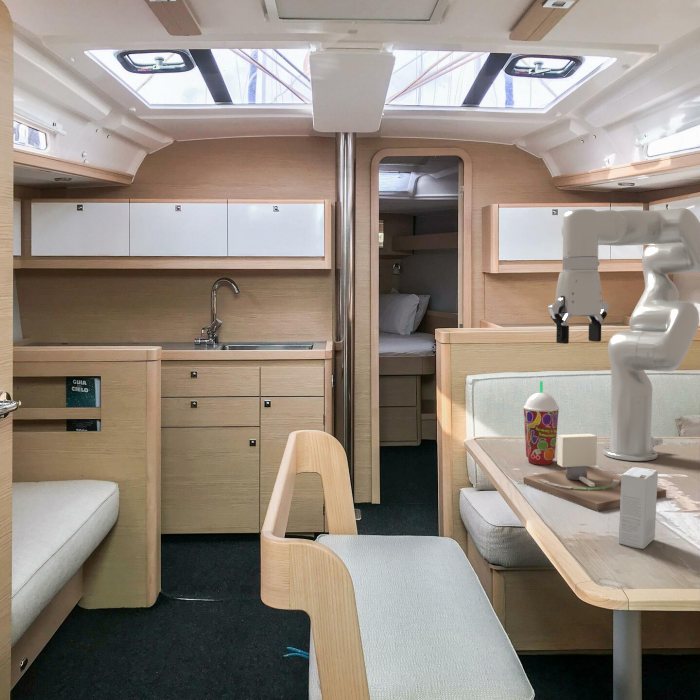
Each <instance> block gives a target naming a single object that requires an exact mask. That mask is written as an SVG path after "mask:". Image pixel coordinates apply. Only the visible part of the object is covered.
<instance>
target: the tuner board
mask: <svg viewBox="0 0 700 700" xmlns="http://www.w3.org/2000/svg"><path fill="white" fill-rule="evenodd" d="M587 479H588V480H590V481H591V482H593V483H595V486H592V487H590V486H589V485H587V484H585V483H584V482H582V481H581V480H571V479H568V478H566V469H564V470H559V471H558V470H557V471H552V472H546V473H540V474H534V475H528V476H523V480H522V481H523V482H522V483H524V484H523V485H525V484H526V485H525V486H528V485H529V487H530V486H531V488H533V487H534V488H533V489H536V490H538V489H539V491H541V490H542V492H543V493H546V492H547V494H549V495H553V496H555V497H558V498H560V499H562V500H565V501H568V502H570V503H573V504H575V505H578V506H582V507H584V508H586V507H587V508H586V509H589V510H592V511H594V510H595V512H597V511H598V512H602V511H606V510H611V509H616V508H620V499H621V481H622V475H618V474H616V473H612V472H608V471H605V470H604V469H603V470H602V469H598V468H595V467H593V466H587ZM662 498H667V489H665V488H661V487H658V486H657V499H662Z"/></svg>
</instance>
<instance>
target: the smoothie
mask: <svg viewBox="0 0 700 700" xmlns="http://www.w3.org/2000/svg"><path fill="white" fill-rule="evenodd" d="M543 385H544V382H543V380H540V381H539V392H535V393H533V394H531V395H530V396H528V398H527V399H526V402H525V403H524V405H523V421H524V422H523V423H524V425H523V426H524V437H525V438H524V439H525V441H524V443H525V456H526V458H527V460H528V462H529V463H531V464H533V465H538V466H539V465H540V466H544V465H545V466H546V465H551V464H552V463H553V461H554V459H555V458H556V449H557V448H556V447H557V446H556V445H557V438H558V425H559V423H558V422H559V409H560V407H559V406H558V403H557V402H556V400H555V398H554V397H553V396H552V395H551V394H548V393H546V392H544V391H543V389H544V388H543V387H544V386H543Z"/></svg>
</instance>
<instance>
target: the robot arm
mask: <svg viewBox="0 0 700 700" xmlns="http://www.w3.org/2000/svg"><path fill="white" fill-rule="evenodd" d="M562 218H563V219H562V220H563V221H562V225H561V236H562V271H560V272H559V275H558V279H557V284H556V288H555V289H556V291H555V300H554V301H553V302H552V303H551V304H549V305H548V306H547V308H548V309H547V310H548V312H549V314H550V318H551V319H552V321H553V324H554V325H555V326H556V335H555V337H556V343H557V344H564V345H565V344H566V345H567V344H569V342H570V326H569V325H568V323H569V321H570V319H572V318H573V317H574V318H575V317H578V318H579V317H587V318H588V320H589V321H590V323H588V341H589V342H598V343H599V342H601V341H602V325H603V324H604V323H605V321H604V320H605V318H607V315H608V311H609V309H610V303H608V302H606V301H605V300H603V298H602V297H603V296H602V295H603V293H602V283H601V276H600V271H599V270H598V269H599V266H600V262H599V246H616V247H617V246H618V247H622V246H647V247H645V249H643V252H642V255H641V267H642V273H643V279H644V290H643V293H642V295H641V296H640V299H639V300H638V302H637V303H636V305H635V308H634V310H633V311H632V313H631V316H630V317H629V322H628V323H629V329H630V330H622V331H621V330H620V331H618V332H616V333H614V334H613V335H612V336H611V337H610V338H609V340H608V344H607V353H608V354H607V355H608V360H609V365H610V372H611V373H610V375H611V377H610V379H611V385H610V387H611V388H610V389H611V393H610V395H611V397H610V432H609V433H610V438H609V439H610V441H609V443H610V444H609V445H608V446H606V447H603V454H604V455H605V456H607V457H609V458H612V459H616V460H621V461H622V460H623V461H628V462H629V461H633V462H644V461H645V462H646V461H652V460H655V459H657V458H658V452H657V451H656V450H654V447H655V446H656V447H657V446H661V445H663V444H664V441H663V438H662V437H660V436H659V437H653V436H652V417H653V415H652V413H653V386H652V385H653V384H652V382H651V381H650V377H649V376H648V375H647V373H646V371H656V372H674V371H676V370H677V369H678V368H679V367H680V366H681V365H682V363H683V362H684V360H685V358H686V355H687V353H688V351H689V350H690V347H691V346H692V343H693V340H695V339H694V338H695V337H696V335H697V331H698V330H699V323H700V314H699V311H698V309H697V307H696V306H695V305H694V304H693V303H692V302H689V301H685V300H679V298H680V292H679V289H678V288H677V286H676V284H675V283H674V282H673V281H672V280H671V279H670V278H669V276H668V275H673V274H674V275H676V274H677V275H678V274H679V275H681V274H683V275H684V274H700V221H699V219H698V217H697V216H696V215H695V214H694V212H693V211H691V210H690V209H688V208H684V207H682V208H680V207H679V208H671V209H670V208H669V209H660V210H658V209H657V210H640V209H627V210H615V209H608V210H605V209H604V210H595V209H591V208H582V209H581V208H580V209H572V210H568V211H566V212H565V213H564V215H563V217H562Z"/></svg>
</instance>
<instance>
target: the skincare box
mask: <svg viewBox="0 0 700 700" xmlns="http://www.w3.org/2000/svg"><path fill="white" fill-rule="evenodd" d="M658 475H659V471H658V470H656V469H651V468H643V467H636V466H633V467H631V468H630V469H628V470H627V471H625V472H624V473H622V474H621V476H622V481H621V499H620V507H619V523H618V524H619V526H618V527H619V528H618V544H620V545H623V546H625V547H626V546H627V547H632V548H635V549H640V550H642V549H644V550H645V548H646V547H648V545H649V544H650V543H652V541H654V540H655V538H656V525H657V524H656V521H657V519H656V518H657V487H658V480H659V479H658Z"/></svg>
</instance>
